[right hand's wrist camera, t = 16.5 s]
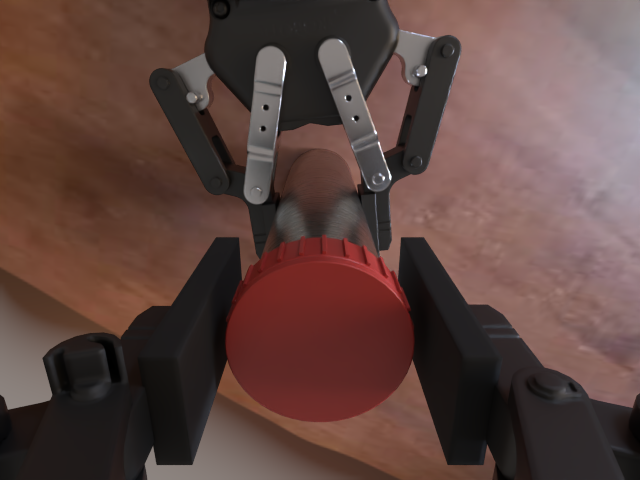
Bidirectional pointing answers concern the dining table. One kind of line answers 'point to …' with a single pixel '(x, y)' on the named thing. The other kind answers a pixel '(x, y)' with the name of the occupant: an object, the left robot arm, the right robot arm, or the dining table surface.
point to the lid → (319, 330)
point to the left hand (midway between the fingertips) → (326, 259)
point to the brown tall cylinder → (320, 203)
